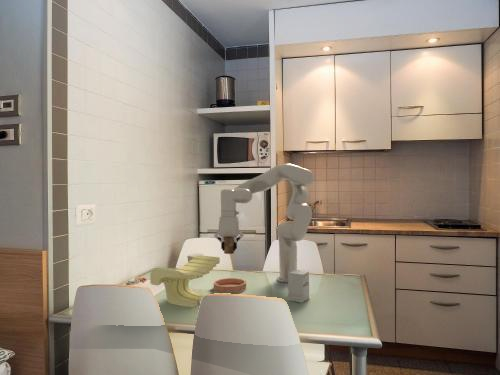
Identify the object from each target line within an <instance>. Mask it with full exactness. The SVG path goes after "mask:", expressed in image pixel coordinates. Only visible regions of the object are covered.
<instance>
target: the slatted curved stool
mask: <svg viewBox="0 0 500 375" xmlns="http://www.w3.org/2000/svg"><path fill="white" fill-rule="evenodd" d="M220 261H221V259H220V257H219V256H212V255H211V256H210V255H209V256H208V255H203V256H201V255H197V256H195V257H193V258H192V259H191V260H190V261H188V260H187V263H184V265H183V266H182V267H180V268H178V269H167V268H159V267H153V268H152V269H151V271H150V275H149V276H150V277H149V278H150V285H152V286H159V285H160V286H161V285H162V284H163V285H164V290H165V295H166V299H167V300H166V301H167V302H168V303H169V304H171V305H178V306H182V307H187V308H194V307H196V306H198V305H201V304H200V301H201V298H202V297H203V296H204V295H205V294H201V293H198V292H195V291H193V290H191V289H190V287H189V282H190V281H191V280H195V279H198V278H201V277H200V276H202V277H203V276H206V275H208V274H210V271H213V270H214V268H215V267H217V265H218V264H219V265H220ZM197 277H198V278H197Z"/></svg>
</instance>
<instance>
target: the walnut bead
mask: <svg viewBox="0 0 500 375" xmlns="http://www.w3.org/2000/svg"><path fill="white" fill-rule="evenodd" d="M223 254H225V255H232V254H235V251H234V238H233V237H224V251H223Z"/></svg>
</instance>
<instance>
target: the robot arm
mask: <svg viewBox="0 0 500 375" xmlns="http://www.w3.org/2000/svg"><path fill="white" fill-rule="evenodd" d="M314 180H315V176H314V173H313V171H311V170H310V169H309V168H303V167H301V166H299V165H295V164H292V163H281V164H277V165H274V166H273V167H272V168H269V169H268V170H266V171H265V172H263V173H262V174H260V175H257V176H255V177H253V178H251V179H249V180H246V181H245V182H242V183H241V184H239V185H237V186H236V187H234V188H230V189H229V188H227V189H226V188H225V189H221V190H220V216H219V220H218V229H217V231H216V232H215V233H214V238H216V239H217V241H219V242H220V249H221V250H222V251H223V252H224V237H233V238H234V252H236V249H238V244H237V243H238V242H239V241H240V240H241V239H242V238H243V237H244V233H243V232H242V231H241V230H240V221H239V218H238V216H237V215H240V211H237V204H248V203H250V202H251V200H252V199H253V194H256V193H261V192H265V191H268V190H269V189H272V188H273V187H275V186H277V185H278V184H279V183H281V182H283V181H289V183H290V185H291V187H292V195H291V198H290V200H289V203H288V205H287V208H286V212H285V213H286V217H287V218H288V219H289V221H288V220H287V221H285V220H284V221H282V222H280V223H279V224H278V225H277V229H276V232H277V238H278V250H279V252H278V257H279V259H278V260H279V261H278V263H279V264H278V265H279V266H278V267H279V275H278V276H277V277H276V280H277V281H278V282H280V283H285V284H286V283H288V273H290V272H292V271H294V270H298V246H297V242H301V241H302V240H303V239H304V238H305V236H306V234H307V231H308V229H309V226H310V223H311V221H312V217H313V209H312V207H311V205H309V204H307V202H308V198H309V190H308V187H307V186H310V185H311V184H313V183H314ZM290 220H292V221H290Z"/></svg>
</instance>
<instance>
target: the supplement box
mask: <svg viewBox="0 0 500 375" xmlns="http://www.w3.org/2000/svg"><path fill="white" fill-rule="evenodd" d="M287 286H288V288H287V289H288V292H287V293H288V301H290V302H298V303H304V302H305V301H307V300H308V299H309V300H310V272H309V270H308V271H307V270H299V269H297V270H294V271H292V272H290V273H288V284H287Z"/></svg>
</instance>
